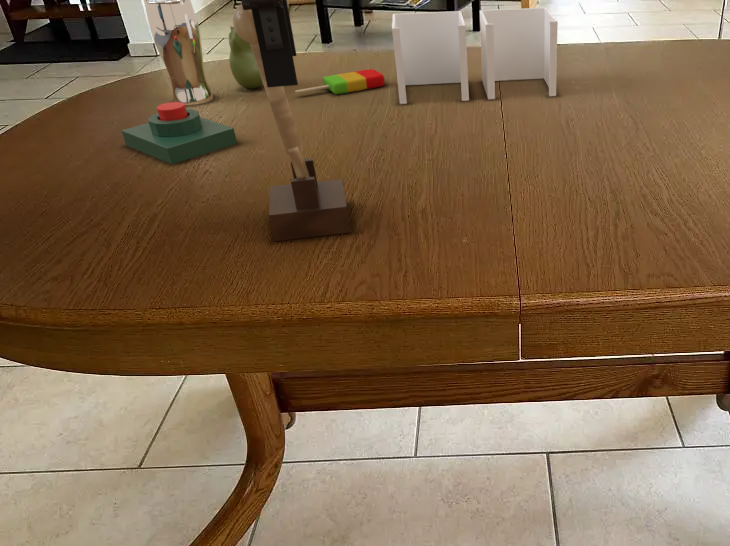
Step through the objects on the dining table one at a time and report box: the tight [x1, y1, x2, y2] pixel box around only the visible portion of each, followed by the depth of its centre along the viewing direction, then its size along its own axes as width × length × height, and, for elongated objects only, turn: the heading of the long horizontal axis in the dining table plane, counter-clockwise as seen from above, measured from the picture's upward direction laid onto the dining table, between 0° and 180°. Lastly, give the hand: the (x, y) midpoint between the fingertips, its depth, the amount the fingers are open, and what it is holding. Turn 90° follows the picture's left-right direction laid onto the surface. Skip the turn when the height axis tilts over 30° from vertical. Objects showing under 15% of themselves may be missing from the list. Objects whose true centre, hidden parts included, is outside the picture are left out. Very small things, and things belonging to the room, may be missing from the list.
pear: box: [228, 25, 264, 90], centre depth 123 cm, size 6×5×10 cm
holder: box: [268, 157, 352, 242], centre depth 81 cm, size 8×8×6 cm
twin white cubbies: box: [391, 7, 559, 105], centre depth 119 cm, size 25×11×11 cm, turn 97°
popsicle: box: [294, 68, 385, 95], centre depth 123 cm, size 6×15×2 cm, turn 122°
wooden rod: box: [232, 3, 310, 178], centre depth 74 cm, size 18×4×4 cm
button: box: [156, 101, 188, 121], centre depth 101 cm, size 4×4×2 cm
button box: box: [121, 108, 238, 165], centre depth 102 cm, size 12×10×4 cm
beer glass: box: [143, 0, 214, 106], centre depth 116 cm, size 7×7×15 cm
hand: (282, 69), depth 73 cm, fingers open, 11 cm apart
